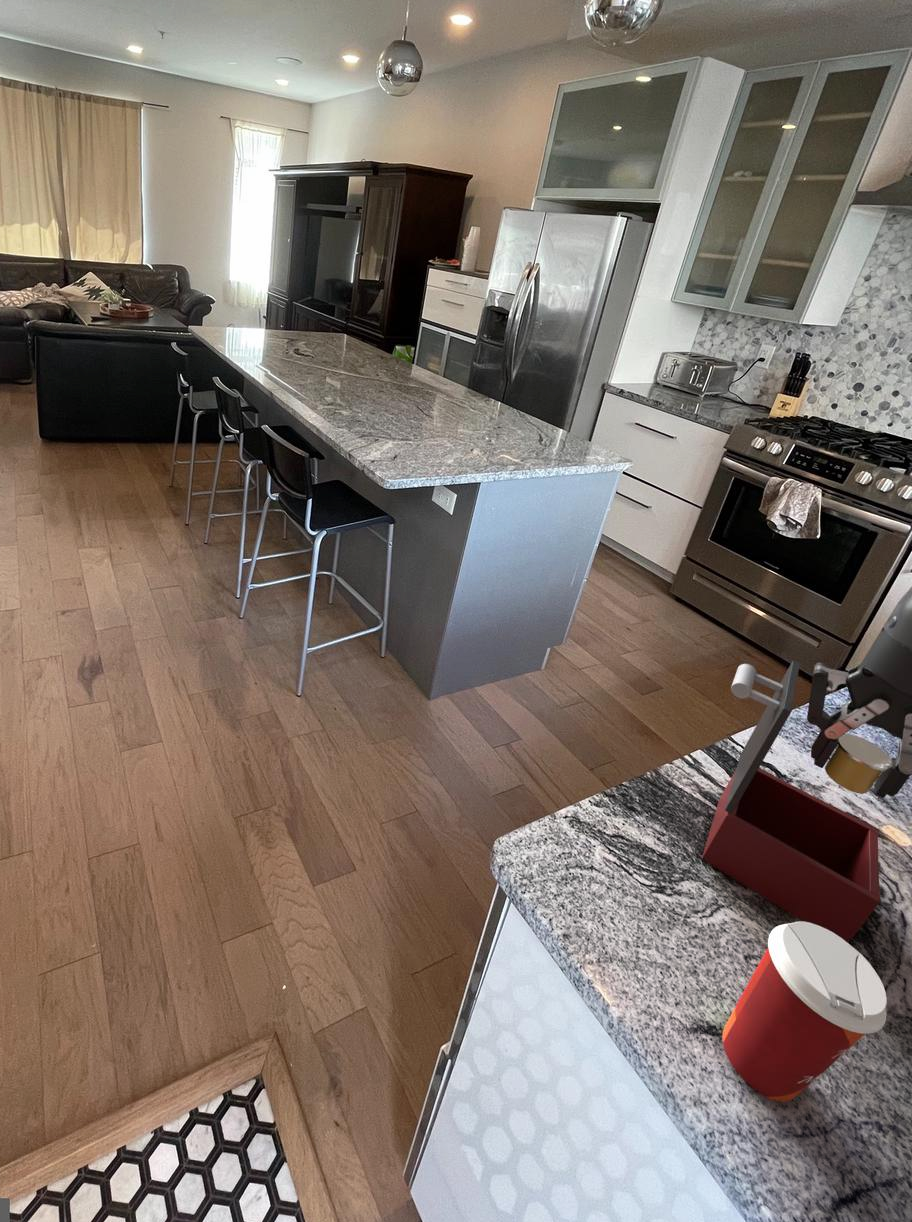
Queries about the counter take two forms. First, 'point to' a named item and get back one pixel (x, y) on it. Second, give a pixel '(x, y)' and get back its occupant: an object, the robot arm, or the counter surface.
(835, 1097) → the counter surface
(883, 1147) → the counter surface
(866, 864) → the box
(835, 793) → the counter surface
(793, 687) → the lid
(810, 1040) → the paper cup
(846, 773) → the cylinder
